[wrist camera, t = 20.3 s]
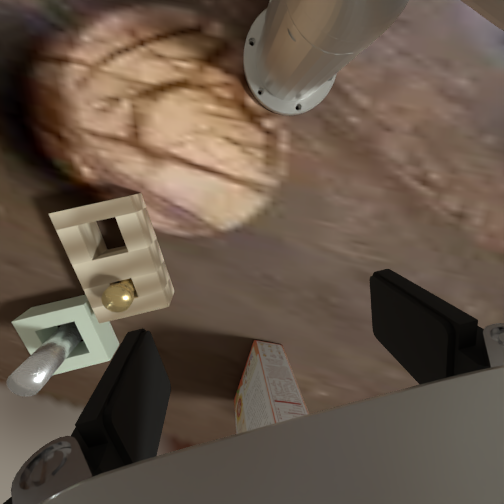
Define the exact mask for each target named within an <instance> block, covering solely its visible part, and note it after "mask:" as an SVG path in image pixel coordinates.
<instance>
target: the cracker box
mask: <svg viewBox="0 0 504 504" xmlns="http://www.w3.org/2000/svg"><path fill="white" fill-rule="evenodd" d="M234 406H235V419H236V430H237V434H238V433H241V432H245V431H249V430H252V429H256V428H260V427H263V426H267V425H271V424H274V423H278V422H282V421H285V420H289V419H293V418H296V417H300V416H304V415H307V414H309V413H308V410H307V407H306V405H305V402H304V400H303V397H302V395H301V392H300V390H299V387H298V385H297V382H296V379H295V377H294V374H293V372H292V369H291V367H290V364H289V361H288V359H287V356H286V354H285V351H284V348H283V346H282V345H280V344H275V343H270V342H264V341H258V340H254V342H253V345H252V348H251V351H250V353H249V356H248V359H247V362H246V366H245V368H244V371H243V374H242V377H241V380H240V383H239V386H238V389H237V392H236V395H235V398H234Z"/></svg>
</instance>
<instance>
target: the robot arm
mask: <svg viewBox="0 0 504 504" xmlns="http://www.w3.org/2000/svg"><path fill="white" fill-rule="evenodd" d="M408 1H409V0H269V4H268V7H267V8H266V9H265V10H264V11H263V12H262V13H261V14H260V15H259V16H258V17H257V18H256V19H255V21H254V23H253V24H252V26H251V28H250V30H249V32H248V35H247V38H246V42H245V46H244V53H243V68H244V73H245V78H246V81H247V83H248V86H249V88H250V90H251V92H252V94H253V95H254V97H255V98H256V99H257V100H258V101H259V103H260V104H262V105H263V106H264V107H265V108H267V109H268V110H270V111H272V112H274V113H277V114H280V115H287V116H293V115H300V114H302V113H305V112H307V111H309V110H311V109H312V108H314V107H315V106H316V105H318V104H319V103H320V102H321V101H322V100H323V99H324V98H325V97H326V95H327V94H328V92H329V91H330V89H331V87H332V85H333V83H334V81H335V78H336V74H337V72H339V71H340V70H341V69H342V68H343V67H345V66H346V65H347V64H348V63H349V62H350V61H352V60H353V59H354V58H355V57H356V56H358V55H359V54H360V53H361V52H362V51H363V50H365V49H366V48H367V47H368V46H369V45H371V44H372V43H373V42H374V41H375V40H376V39H377V38H378V37H380V36H381V35H382V34H383V33H384V32H385V31H386V30H387V29H388V28H389V27H390V26H391V25H392V24H393V23H394V22H395V20H396V19H397V18H398V17H399V15H400V14H401V12H402V11H403V10H404V8H405V6H406V5H407V3H408ZM461 1H462V2H464V3H465V4H467V5H468V6H469V7H471V8H472V9H473V10H475V11H476V12H478V13H479V14H480V15H482V16H483V17H484V18H486V19H487V20H489V21H490V22H491V23H493V24H494V25H495V26H497V27H498V28H500V29H502V30H503V31H504V0H461ZM250 43H252V44H253V46H251V45H250ZM328 80H329V81H328ZM259 91H260V92H261V95H259V94H258V92H259ZM295 107H298V110H296V108H295ZM370 293H371V309H372V326H373V333H374V335H375V337H376V338H377V339H378V341H379V342H380V343H381V344H382V345H383V346H384V347H385V348H386V349H387V350H388V351H389V352H390V353H391V354H392V355H393V356H394V358H395V359H396V360H397V361H398V362H399V363H400V364H401V365H402V366H403V367H404V368H405V369H406V370H407V371H408V372H409V373H410V375H411V376H412V377H413V378H414V379H415V380H416V381H417V382H418V383H419V384H420V385H416V386H413V387H409V388H405V389H401V390H397V391H394V392H390V393H386V394H382V395H379V396H375V397H371V398H367V399H363V400H360V401H356V402H352V403H348V404H345V405H341V406H337V407H333V408H330V409H326V410H322V411H319V412H315V413H311V414H307V415H304V416H300V417H296V418H293V419H289V420H285V421H282V422H278V423H274V424H271V425H267V426H263V427H260V428H256V429H252V430H249V431H245V432H241V433H238V434H234V435H231V436H227V437H223V438H220V439H216V440H213V441H209V442H205V443H202V444H198V445H195V446H191V447H187V448H184V449H181V450H177V451H173V452H170V453H166V454H163V455H159V456H156V455H157V450H158V446H159V442H160V437H161V433H162V428H163V424H164V419H165V415H166V410H167V406H168V401H169V396H170V392H171V385H170V381H169V378H168V376H167V373H166V371H165V368H164V366H163V363H162V360H161V358H160V355H159V353H158V350H157V348H156V345H155V343H154V340H153V337H152V335H151V333H150V331H145V330H144V329H139V330H135V331H131V332H128V333H127V334H126V336H125V338H124V340H123V341H122V343H121V345H120V347H119V348H118V350H117V352H116V354H115V355H114V357H113V359H112V361H111V362H110V364H109V366H108V368H107V369H106V371H105V373H104V375H103V376H102V378H101V380H100V382H99V383H98V385H97V387H96V389H95V390H94V392H93V394H92V396H91V398H90V399H89V401H88V403H87V405H86V406H85V408H84V410H83V412H82V413H81V415H80V417H79V419H78V421H77V422H76V424H75V426H76V428H75V429H74V431H73V433H72V435H71V436H65V437H60V438H58V439H55V440H53V441H51V442H49V443H48V444H46V445H45V446H43V447H42V448H40V449H39V450H38V451H37V452H35V453H34V454H33V455H32V456H31V457H30V458H29V459H28V460H27V461H26V462H25V463H24V464H23V466H22V467H21V469H20V470H19V471H18V472H17V474H16V476H15V478H14V480H13V482H12V488H11V495H12V497H11V498H9V499H8V500H7V501H6V502H4V503H3V504H504V323H499V324H492V325H489V326H487V327H486V328H484V329H482V328H481V327H479V326H477V325H478V320H477V319H475V318H474V317H472V316H470V315H468V314H467V313H465V312H463V311H461V310H460V309H458V308H456V307H454V306H453V305H451V304H449V303H447V302H446V301H444V300H442V299H440V298H439V297H437V296H435V295H434V294H432V293H430V292H428V291H427V290H425V289H423V288H421V287H420V286H418V285H416V284H414V283H413V282H411V281H409V280H407V279H406V278H404V277H402V276H400V275H399V274H397V273H395V272H394V271H392V270H390V269H385V270H381V271H377V272H374V273H373V276H371V277H370Z"/></svg>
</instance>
